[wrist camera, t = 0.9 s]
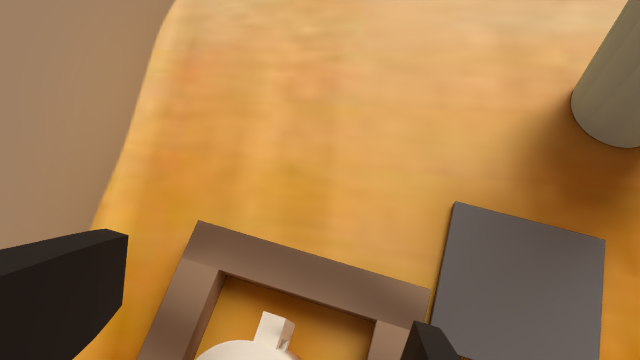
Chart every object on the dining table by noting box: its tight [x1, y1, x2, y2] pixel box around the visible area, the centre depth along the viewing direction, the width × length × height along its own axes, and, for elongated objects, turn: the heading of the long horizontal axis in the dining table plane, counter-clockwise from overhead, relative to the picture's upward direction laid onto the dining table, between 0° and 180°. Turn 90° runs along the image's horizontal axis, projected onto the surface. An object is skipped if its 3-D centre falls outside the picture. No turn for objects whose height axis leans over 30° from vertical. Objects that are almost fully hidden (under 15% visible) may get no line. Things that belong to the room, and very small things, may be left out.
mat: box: [429, 201, 605, 360], centre depth 22 cm, size 8×8×1 cm
